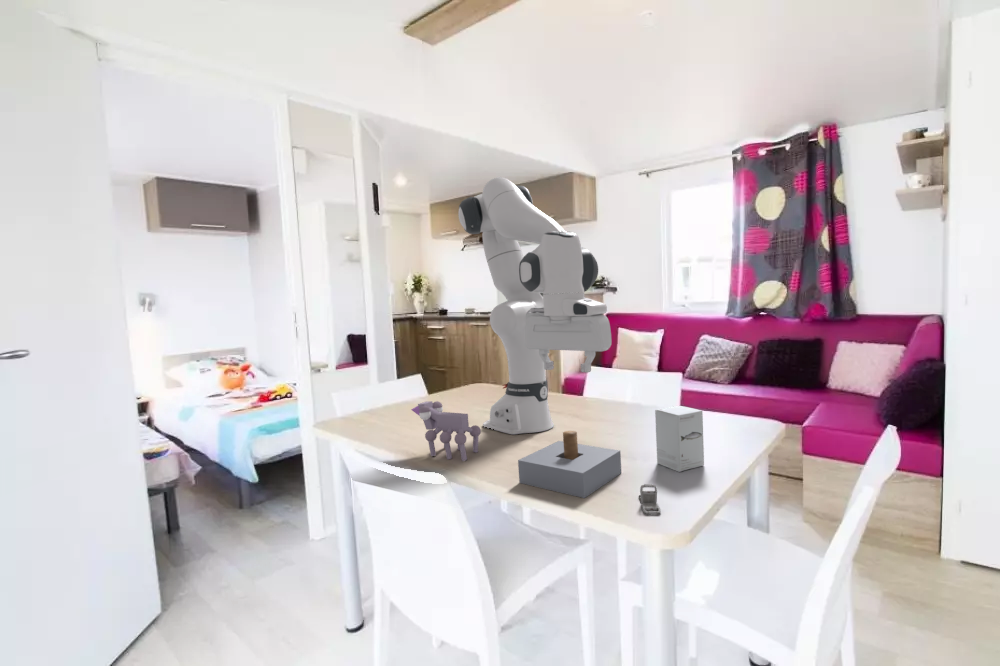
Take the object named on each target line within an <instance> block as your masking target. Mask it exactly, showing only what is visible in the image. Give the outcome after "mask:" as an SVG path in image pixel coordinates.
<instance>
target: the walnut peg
mask: <svg viewBox="0 0 1000 666" xmlns="http://www.w3.org/2000/svg"><path fill="white" fill-rule="evenodd" d="M562 439H563V440H562V441H563V443H564V458H565V459H571V460H574V459H576V458H578V444H579V443H578V432H577V431H576V430H566V431H562Z"/></svg>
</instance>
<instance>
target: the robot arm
mask: <svg viewBox="0 0 1000 666" xmlns="http://www.w3.org/2000/svg"><path fill="white" fill-rule="evenodd" d="M458 221H459V223H460V225H461V226H462V228H463V229H464V231H465V232H466V233H468V235H478V234H479V235H480V234H481V233H482V245H483V250H484V255H485V259H486V262H487V266H488V268H489V272H490V275H491V279H492V282H493V285H494V287H495V289H496V290H498V292H500V293H501V294H502V295H503V296H504V297H505V299H506V301H504V302H502V303H499V304H498V305H496V306H495V307H493V309H492V310H491V313H490V315H489V324H490V327H491V329H492V331H493V332H494V334H496V335H497V336H498V337H499V339H500V340H501V341H500V342H502V346H503V348H504V351H505V354H506V360H507V366H508V367H507V368H508V370H507V371H508V380H509V381H508V382H507V383H505V384H502V385H501V386H503V387H502V389H504V390H505V389H506V390H505V392H504V393H505V394H504V395H503V396H502V397H500V398H499V399H498V400H497V401H496V402H495V403H494V404H492V406H491V408H490V411H489V419H487V420H486V421H484V422H483V423H482V427H483V426H484V427H483V428H485V427H487V428H486V429H489V428H491V429H490V430H493V429H494V430H493V431H497V432H501V433H505V434H509V435H518V434H528V433H529V434H531V433H532V434H533V433H538V432H539V433H540V432H544V431H548V430H551V429H553V428H554V425H555V424H554V422H553V419H552V416H551V412H550V406H549V402H548V396H549V395H548V394H549V387H548V380H547V379H546V371H551V370H554V368H555V366H554V361H553V360H551V358H550V357H549V354H550V350H551V351H571V352H572V351H573V352H574V351H577V352H584V356H585V357H586V359H585V361H584V362H583V363H580V372H581V373H590V372H591V371H592V363H593V361H594V359H595V357H596V355H597V354H596V352H605V351H608V350H610V348H611V346H612V331H611V324H610V320H609V318H608V317H607V315H605V314H606V313H607V311H608V310H607V308H608V307H607V304H606V303H605V302H602V301H598V300H594V299H592V298H588V297H585V292H587V291H588V290H589V289H590V288H591V287H592V286H593V285H594V283H595V282H596V281H597V278H598V275H599V265H598V261H597V259H596V258H595V256H594V255H593V253H592V252H591V251H590V250H589V249H587V248H585V247H583V246H582V243H581V241H580V240H581V239H580V237H579V235H578V234H576V233H575V232H572V231H566V230H565V229H564V228H563V226H562V225H560V224H559V223H558V222H557V221H556V220H555V219H554V218H552V217H550V216H549V215H548V214H546V213H544V212H543V211H541V210H540V209H538V207H536V206H535V205H534V202H533V198H532V196H531V193H530V191H529V189H528V188H527V187H525V186H524V185H516V184H515V183H514V182H512V181H511V180H509V178H506V177H502V176H497V177H494V178H492V179H490V180H489V181H487V183H485V185H484V186H483V190H482V193H480V194H478V195H475V196H469V197H467V198H465V199H463V200H462V201H461V202H460V204H459V205H458ZM519 241H520V242H529V243H534V244H539V245H538V246H537V247H536V248H535V249H534V250H532V251H531V252H530V251H529V252H527V253H526V254H525V255H523V251H522V249H521V246H520V243H519ZM541 293H542V294H541Z"/></svg>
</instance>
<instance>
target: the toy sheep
mask: <svg viewBox="0 0 1000 666" xmlns="http://www.w3.org/2000/svg"><path fill="white" fill-rule="evenodd" d="M410 410H411V411H412V412H413V413H415V414H416V415H417V416H419V418H420V419H421V420H423V424H424V426H425V429H426V430H427V431H426V432H425V434H424V438H425V439H426V441H427V443H428V448H429V452H430V457H431V456H435V455H436V456H437V453H436V446H435V442H434V441H435V440H437V436H438V434H439V433H440V434H439V440H440V442H441V443H443V448H444V449H445V456H446V460H452V459H453V455H452V450H451V449H452V448H451V444H450V442H451V441H452V434H453V433H454V432H455V433H456V435H454V442H455V444H457V446H456V447H457V450H458V451H459V452H460V458H461V462H466V461H468V457H467V450H466V446H465V445H466V442H467V436H466V432H467V433H469V435H470V436H471V437H472V439H473V440H472V443H473V444H472V452H473V453H479V436H480V434H482V433H481V432H482V430H481V428H480V426H479V425H472V426H469V414H468V413H462V412H461V413H460V412H448V411H447V412H446V411H444V409H443V404H442V402H440V401H438V400H436V401H434V402H433V401H424V402H419V403H417V406H415V407H413V408H411V409H410ZM436 456H435V457H436Z"/></svg>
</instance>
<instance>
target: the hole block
mask: <svg viewBox="0 0 1000 666" xmlns="http://www.w3.org/2000/svg"><path fill="white" fill-rule="evenodd" d="M621 458H622V456H621V450H619V449H613V448H606V447H600V446H593V445H587V444H581V443H578V458H576V459H574V460H571V459H565V458H564V443H563V440H558V441H556V442H553V443H552V444H551V443H550V444H549V445H547V446H545V447H543V448H541V449H538V450H537V451H535V452H532V453H530V454H528V455H526V456H523V457H522V458H520V459H517V465H518V467H517V468H518V483H519V484H523V485H528V486H531V487H536V488H540V489H543V490H548V491H553V492H557V493H561V494H565V495H569V496H574V497H577V498H581V499H585V498H587V497H588V496H590V495H591V494H592V493H594V492H596V491H597V490H598V489H600V488H601V487H603V486H604V485H606V484H607V483H609V482H610V481H612V480H613V479H615V478H616V477H618V476H619V475H620V474H622V459H621Z"/></svg>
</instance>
